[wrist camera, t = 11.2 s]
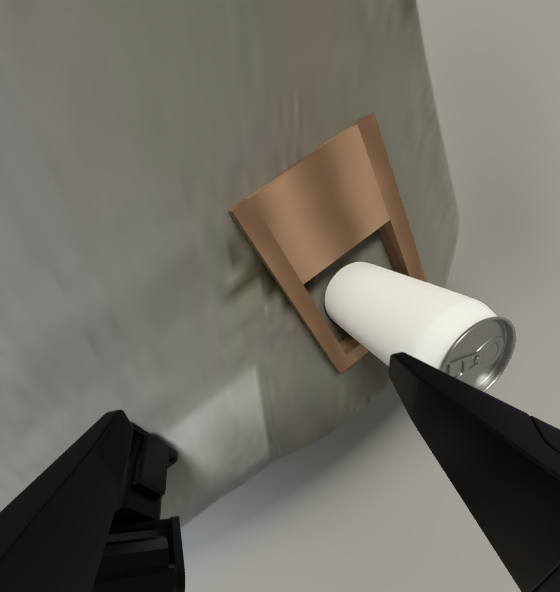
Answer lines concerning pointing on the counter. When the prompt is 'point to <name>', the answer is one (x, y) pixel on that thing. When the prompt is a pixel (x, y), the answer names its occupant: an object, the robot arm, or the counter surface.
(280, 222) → the wooden tray frame
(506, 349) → the can
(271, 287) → the counter surface
